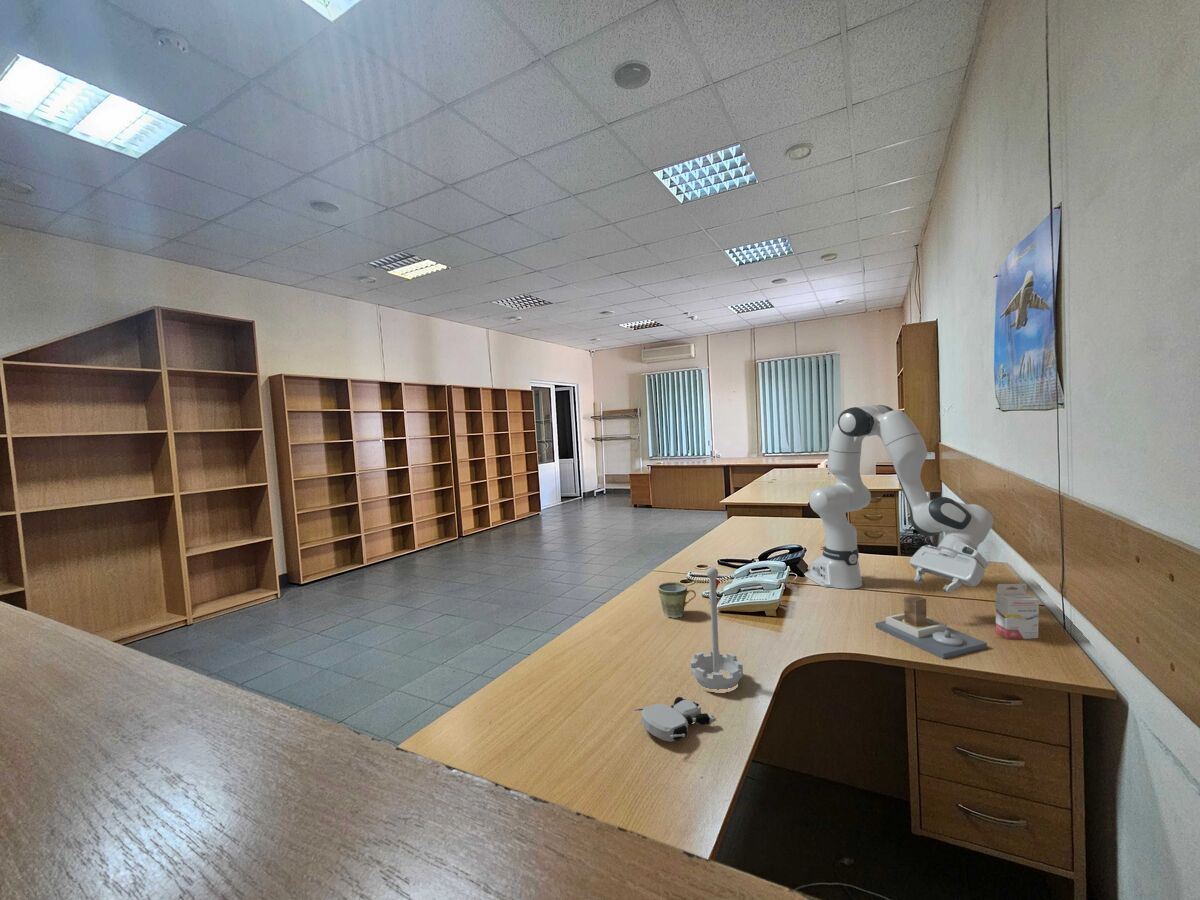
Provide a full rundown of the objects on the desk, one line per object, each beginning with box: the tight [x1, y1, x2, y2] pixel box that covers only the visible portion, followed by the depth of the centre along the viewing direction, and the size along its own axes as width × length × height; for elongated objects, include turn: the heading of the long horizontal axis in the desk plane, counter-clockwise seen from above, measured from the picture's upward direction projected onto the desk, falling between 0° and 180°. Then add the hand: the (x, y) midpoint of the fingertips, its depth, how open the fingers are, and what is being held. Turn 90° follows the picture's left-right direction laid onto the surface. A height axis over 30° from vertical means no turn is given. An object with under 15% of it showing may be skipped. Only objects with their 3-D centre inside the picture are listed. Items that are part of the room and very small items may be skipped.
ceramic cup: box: [657, 581, 697, 619], centre depth 171 cm, size 13×10×10 cm
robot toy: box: [633, 696, 717, 743], centre depth 109 cm, size 12×4×15 cm
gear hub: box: [902, 594, 929, 629], centre depth 149 cm, size 7×7×9 cm
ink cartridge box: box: [995, 583, 1040, 640], centre depth 143 cm, size 9×5×15 cm, turn 84°
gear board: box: [875, 612, 988, 660], centre depth 145 cm, size 22×16×4 cm
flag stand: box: [690, 566, 744, 690], centre depth 126 cm, size 13×13×30 cm
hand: (931, 586), depth 150 cm, fingers open, 8 cm apart
